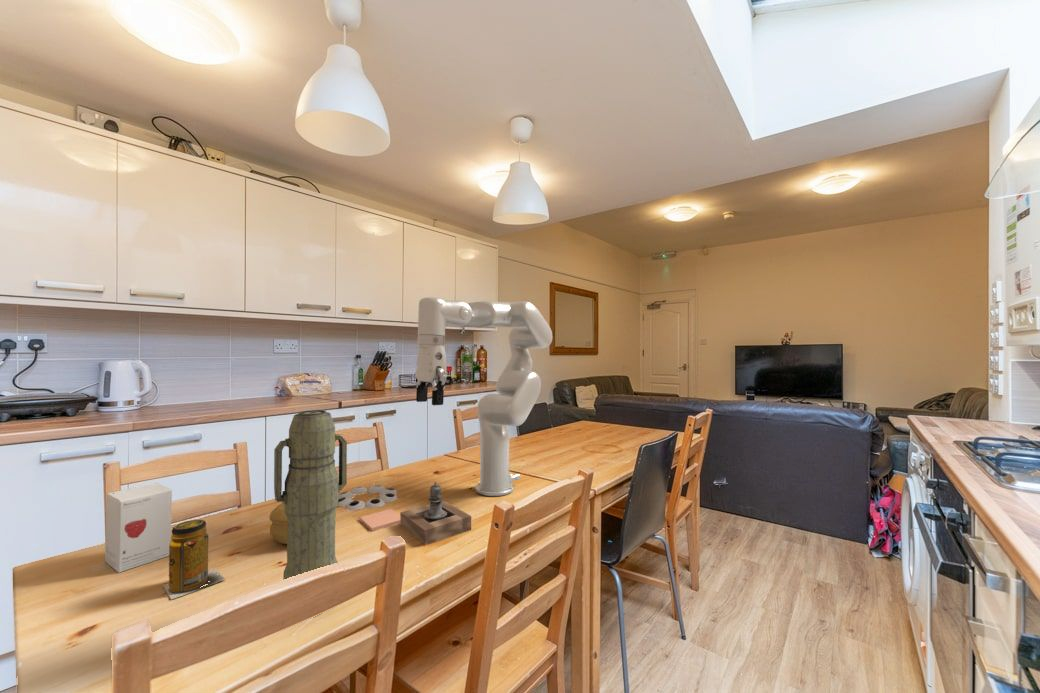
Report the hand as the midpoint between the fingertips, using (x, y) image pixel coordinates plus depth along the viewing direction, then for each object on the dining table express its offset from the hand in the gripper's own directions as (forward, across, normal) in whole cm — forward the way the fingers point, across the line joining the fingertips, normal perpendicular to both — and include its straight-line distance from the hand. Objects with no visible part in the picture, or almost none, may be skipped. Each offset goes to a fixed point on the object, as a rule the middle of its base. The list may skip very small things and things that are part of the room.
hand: (429, 403), depth 115 cm
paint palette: (+32, +25, +8) cm, 42 cm away
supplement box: (+34, +18, +60) cm, 71 cm away
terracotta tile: (+32, +5, +10) cm, 34 cm away
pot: (+33, +7, +30) cm, 45 cm away
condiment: (+33, -1, +50) cm, 60 cm away
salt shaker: (+32, -8, +1) cm, 33 cm away
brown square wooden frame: (+32, -8, +1) cm, 32 cm away
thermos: (+33, -23, +34) cm, 52 cm away
